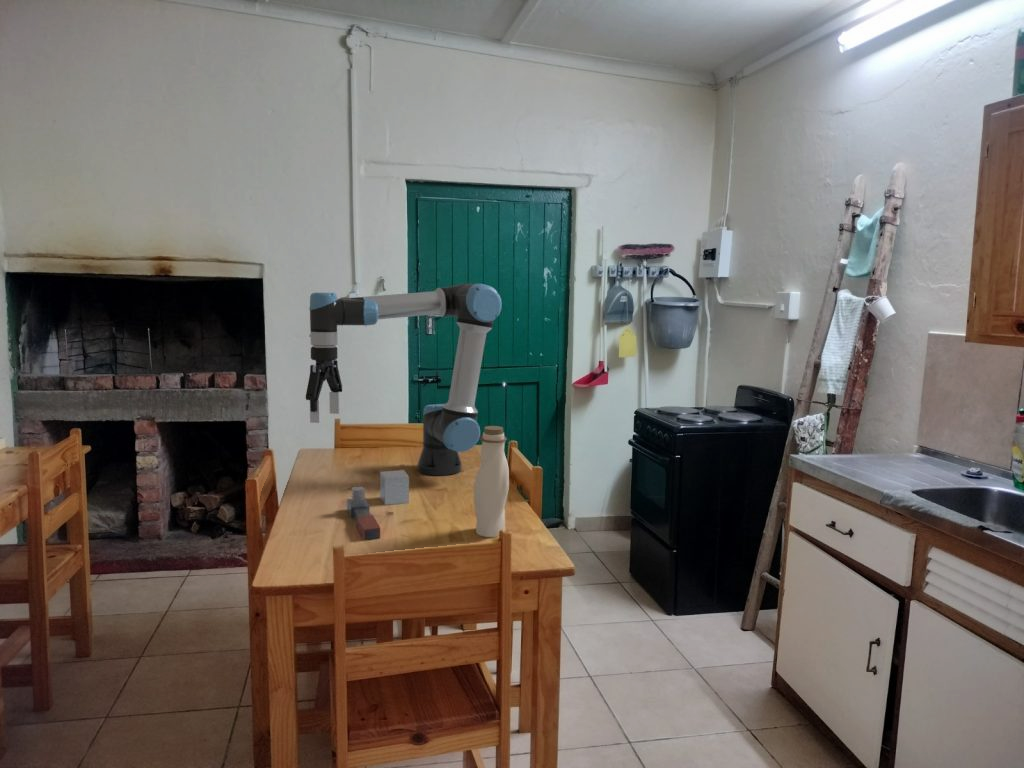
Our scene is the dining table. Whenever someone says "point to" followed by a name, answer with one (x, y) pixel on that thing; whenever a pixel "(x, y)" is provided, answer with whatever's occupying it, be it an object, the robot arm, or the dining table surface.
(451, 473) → the robot arm
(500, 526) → the water bottle
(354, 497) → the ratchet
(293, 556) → the dining table surface
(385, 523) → the dining table surface
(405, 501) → the grey stone cube
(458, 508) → the dining table surface
